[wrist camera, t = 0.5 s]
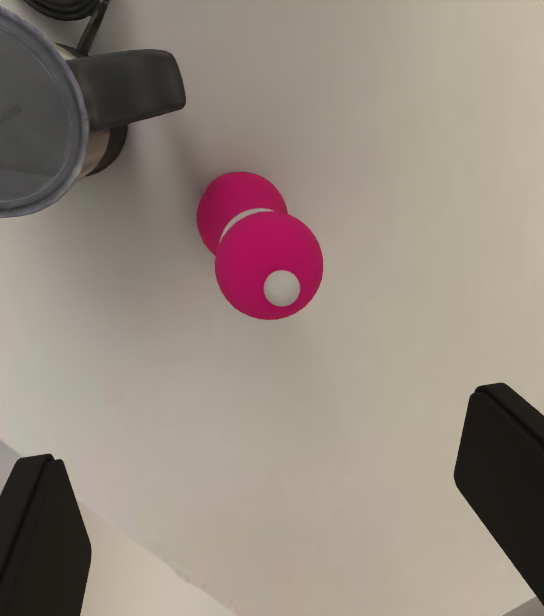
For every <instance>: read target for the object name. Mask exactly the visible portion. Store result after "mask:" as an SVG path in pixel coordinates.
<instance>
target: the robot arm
mask: <svg viewBox="0 0 544 616" xmlns="http://www.w3.org/2000/svg"><path fill="white" fill-rule="evenodd" d="M454 480H455V483H456V486H457V488H458V489H459V491H460V492H461V494H462V495H463V496H464V498H465V499H466V500H467V502H468V503H469V504H470V506H471V507H472V509H473V510H474V511H475V513H476V514H477V515H478V517H479V518H480V519H481V521H482V522H483V524H484V525H485V526H486V528H487V529H488V530H489V532H490V533H491V535H492V536H493V537H494V539H495V540H496V541H497V543H498V544H499V545H500V547H501V548H502V550H503V551H504V552H505V554H506V555H507V556H508V558H509V559H510V560H511V562H512V563H513V565H514V566H515V567H516V569H517V570H518V571H519V573H520V574H521V575H522V577H523V578H524V580H525V581H526V582H527V584H528V585H529V586H530V588H531V589H532V590H533V592H534V593H535V595H536V596H537V597H538V599H539V600H540V601H541V603H542V604H543V606H544V415H542V414H541V413H540V412H539V411H538V410H536V409H535V408H534V407H533V406H532V405H531V404H529V403H528V402H527V401H526V400H525V399H523V398H522V397H521V396H520V395H519V394H517V393H516V392H515V391H514V390H513V389H511V388H510V387H509V386H508V385H506V384H505V383H495V384H489V385H482V386H478V387H477V388H476V389H475V392H474V393H473V394H471V396H470V398H469V403H468V408H467V413H466V417H465V422H464V427H463V432H462V437H461V441H460V446H459V451H458V456H457V461H456V465H455V470H454ZM90 563H91V544H90V540H89V537H88V534H87V531H86V528H85V525H84V522H83V520H82V516H81V513H80V510H79V507H78V504H77V501H76V498H75V495H74V492H73V489H72V486H71V483H70V480H69V477H68V474H67V471H66V468H65V465H64V463H63V461H62V460H61V459H58V460H55V459H54V457H53V456H52V455H51V454H43V455H37V456H31V457H24V458H20V459H19V460H17V462H16V463H15V465H14V467H13V469H12V472H11V474H10V476H9V478H8V480H7V482H6V484H5V486H4V489H3V491H2V493H1V495H0V616H80V613H81V608H82V603H83V598H84V593H85V588H86V583H87V578H88V573H89V568H90Z"/></svg>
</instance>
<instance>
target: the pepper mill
mask: <svg viewBox="0 0 544 616" xmlns="http://www.w3.org/2000/svg"><path fill="white" fill-rule="evenodd" d="M197 226H198V230H199V233H200V236H201V238H202V240H203V242H204V244H205V245H206V246H207V248H208V249H209V251H211V252H212V253H213V254H214V255H215V256H216V259H215V273H216V278H217V282H218V284H219V287H220V289H221V291H222V293H223V295H224V296H225V298H226V299H227V300H228V301H229V302H230V304H231V305H232V306H233V307H234V308H236V309H237V310H239V311H240V312H242V313H244V314H246V315H248V316H251V317H254V318H257V319H265V320H275V319H281V318H285V317H288V316H290V315H293V314H295V313H297V312H298V311H299V310H301V309H302V308H304V307H305V306H306V305H307V304H308V303H309V302H310V301H311V300H312V298H313V297H314V295H315V293H316V292H317V290H318V288H319V286H320V283H321V280H322V274H323V257H322V252H321V249H320V245H319V243H318V241H317V239H316V237H315V236H314V234H313V233H312V232H311V230H310V229H309V228H308V227H307V226H306V225H305V224H304V223H302V222H301V221H300V220H298V219H296V218H295V217H293V216H291V215H289V214H288V213H287V207H286V205H285V202H284V200H283V198H282V196H281V194H280V193H279V191H278V190H277V189H276V188H275V186H274V185H273V184H271V183H270V182H269V181H268V180H266V179H265V178H263V177H261V176H259V175H256V174H252V173H246V172H234V173H228V174H224V175H222V176H220V177H218V178H216V179H215V180H214V181H213V182H212V183H211V184H210V185H209V186H208V187H207V189H206V191H205V192H204V194H203V196H202V198H201V200H200V202H199V205H198V210H197Z"/></svg>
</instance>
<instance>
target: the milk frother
mask: <svg viewBox="0 0 544 616" xmlns="http://www.w3.org/2000/svg"><path fill="white" fill-rule="evenodd" d="M24 1H25V2H27V3H28V4H29V5H31V6H32V7H33V8H34V9H36V10H37V11H39V12H40V13H42V14H44V15H46V16H48V17H51V18H54V19H56V20H62V21H73V20H80V19H84V18H86V17H87V16H89V15H91V19H90V21H89V23H88V25H87V27H86V29H85V31H84V33H83V35H82V37H81V38H80V41H79V43H78V46H77V49H75V48H73V47H69V46H67V45H63V44H58V43H52V42H51V41H49V40H47V39H46V38H45V37H44V36H43V35H42V34H41V33H40V32H39V31H38V30H37V29H36V28H34V27H33V26H31V25H30V24H29V23H27V22H26V21H24V20H23V19H21V18H20V17H19V16H17V15H16V14H14V13H12V12H10V11H9V10H7V9H5V8H3V7H1V6H0V218H8V217H18V216H24V215H29V214H32V213H35V212H38V211H40V210H42V209H44V208H46V207H48V206H50V205H52V204H53V203H55V202H57V201H58V200H59V199H60V198H61V197H62V196H64V195H65V194H66V193H67V192H68V191H69V190H70V189H71V187H72V186H73V184H74V183H75V182H76V181H78V180H79V179H81V178H82V177H84V176H90V175H93V174H95V173H98V172H100V171H102V170H103V169H105V168H106V167H108V166H109V165H110V164H111V163H112V162H113V161H114V160H115V159H116V158H117V156H118V155H119V154H120V152H121V150H122V148H123V146H124V143H125V139H126V135H127V128H128V124H130V123H132V122H136V121H140V120H144V119H148V118H152V117H155V116H160V115H163V114H166V113H170V112H173V111H177V110H180V109H182V108H183V107H184V106H185V104H186V96H185V90H184V85H183V81H182V77H181V73H180V70H179V67H178V65H177V62H176V60H175V58H174V56H173V55H172V54H171V53H169V52H167V51H163V50H154V49H144V50H130V51H122V52H113V53H107V54H101V55H95V56H89V55H87V53H88V51H89V48H90V46H91V44H92V41H93V39H94V37H95V35H96V33H97V30H98V29H99V27H100V24H101V21H102V19H103V16H104V14H105V11H106V9H107V6H108V3H109V0H24Z"/></svg>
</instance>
